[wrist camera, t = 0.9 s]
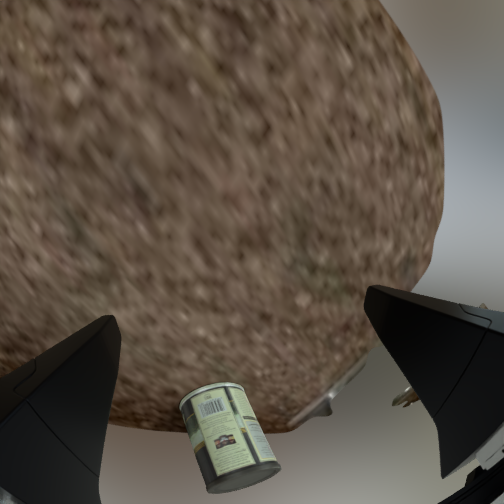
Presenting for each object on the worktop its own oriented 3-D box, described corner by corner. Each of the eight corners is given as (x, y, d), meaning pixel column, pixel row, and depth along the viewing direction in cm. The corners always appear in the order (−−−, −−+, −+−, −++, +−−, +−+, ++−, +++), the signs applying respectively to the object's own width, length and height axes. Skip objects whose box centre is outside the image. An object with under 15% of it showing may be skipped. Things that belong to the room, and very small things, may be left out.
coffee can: (208, 420, 46) (236, 492, 35) (165, 407, 39) (191, 494, 28) (256, 391, 45) (294, 467, 34) (218, 373, 38) (257, 467, 27)
